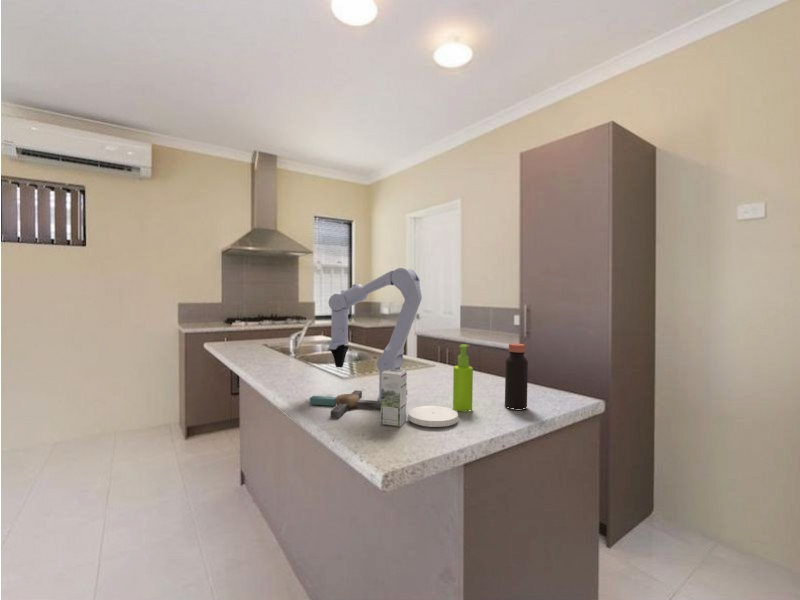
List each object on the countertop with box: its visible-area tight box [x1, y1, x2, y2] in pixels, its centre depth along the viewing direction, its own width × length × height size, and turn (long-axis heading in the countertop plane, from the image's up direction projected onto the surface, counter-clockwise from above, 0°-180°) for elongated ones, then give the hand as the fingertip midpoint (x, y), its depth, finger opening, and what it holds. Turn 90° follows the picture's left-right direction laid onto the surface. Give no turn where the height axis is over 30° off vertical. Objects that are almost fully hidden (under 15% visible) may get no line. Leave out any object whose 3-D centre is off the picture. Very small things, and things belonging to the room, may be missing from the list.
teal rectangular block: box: [309, 395, 337, 407], centre depth 125 cm, size 8×2×2 cm, turn 80°
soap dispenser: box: [452, 343, 474, 412], centre depth 122 cm, size 6×7×20 cm
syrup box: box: [380, 369, 408, 428], centre depth 108 cm, size 6×6×14 cm
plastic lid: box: [407, 405, 459, 428], centre depth 111 cm, size 14×14×2 cm
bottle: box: [504, 343, 529, 409], centre depth 124 cm, size 7×7×20 cm
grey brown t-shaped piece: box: [330, 390, 381, 420], centre depth 123 cm, size 16×24×3 cm, turn 170°
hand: (339, 367), depth 138 cm, fingers closed
